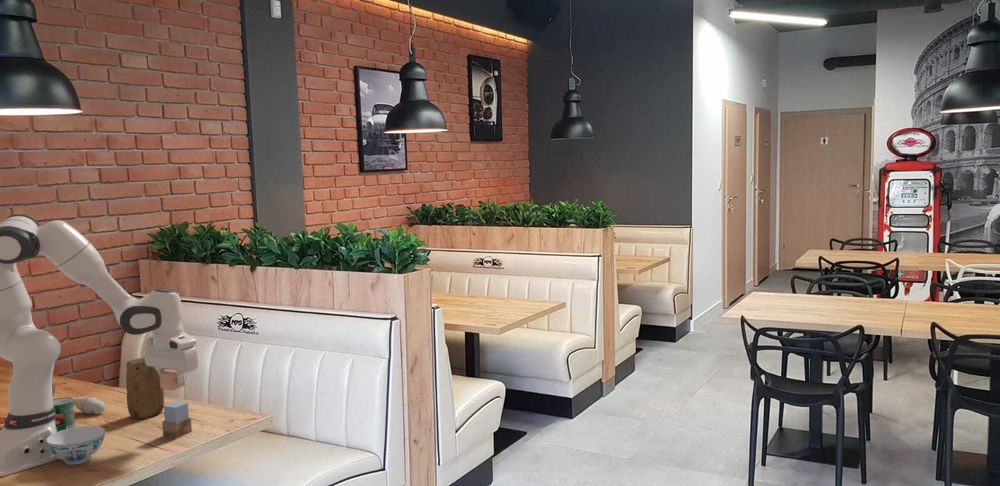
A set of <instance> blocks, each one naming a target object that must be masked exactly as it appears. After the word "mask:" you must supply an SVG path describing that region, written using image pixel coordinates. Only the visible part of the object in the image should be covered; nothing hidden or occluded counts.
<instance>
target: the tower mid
mask: <svg viewBox="0 0 1000 486" xmlns="http://www.w3.org/2000/svg"><path fill="white" fill-rule="evenodd" d="M189 413H190V412H189V402H188V403H187V402H183V401H178V400H177V401H176V400H175V401H173V402H170V403H168V404H164V407H163V414H164V421H167V422H172V423H178V422H181V421H183V420H186V419H188V418H190V415H189Z"/></svg>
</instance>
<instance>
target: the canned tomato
mask: <svg viewBox="0 0 1000 486" xmlns="http://www.w3.org/2000/svg"><path fill="white" fill-rule="evenodd" d="M53 405H54V406H55V412H56V421H55V425H56V430H57V432H59V431H62V430H65V429H69V428H74V427H76V421H75V406H74V404H73V397H65V396H64V397H63V396H62V397H57V398H53Z"/></svg>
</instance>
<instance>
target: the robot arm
mask: <svg viewBox="0 0 1000 486" xmlns="http://www.w3.org/2000/svg"><path fill="white" fill-rule="evenodd" d="M38 255H41V256H44V258H45V257H46V259H48V260H49V261H50V262H51V263H52V264H53V265H54V266H55V267H56V268H57V269H58V270H59V271H60V272H61V273H62V274H64V275H65V276H66V277H67V278H69V279H70V280H72V281H73V282H74V283H77V284H82V285H84V286H87V287H88V288H90V289H92V290H93V291H94V292H95V294H97V295H98V296H99V297H100V298H101V299H102V300H103V301H104V302H105V303H106V304H107V305H108V306H109V308H110V309H111V311H112V313H113V314H112V315H113V318H114V320H115V322H116V323H117V324H118V325H119V326H120V328H121V329H122V331H124V332H125V333H127V334H129V335H132V336H133V335H134V336H139V335H144V334H146V333H150V332H152V336H150V337H148V338H147V339H146V340H145V346H144V357H145V364H146V365H147V366H150V367H155V368H156V369H157V370H158V372H159V373H161V372H164V371H166V370H176V371H177V374H178V376H177V378H175V381H176V382H175V383H176V384H182V383H183V377H184V378H185V375H186V373H190V372H194V371H196V370H197V368H198V367H199V361H198V360H199V359H198V351H197V348H196V347H195V346H196V345H197V340H196V338H194V337H193V336H191V335H190V334H188V333H186V332H185V331H184V326H183V322H182V321H183V308H182V301H181V297H180V294H179V293H178V292H177V291H175V290H173V289H170V288H154V289H152V291H151V292H149V293H148V294H147V295H145V296H143V297H142V298H139V297H137V296H135V295H132V294H130V293H128V292H127V291H126V290H125V289H124V288H123V287H122V286H121V285H120V284H119V283H118V282H117V281H116V280H115V278H113V277H112V276H111V274H110V273H109V272H108V270H107V267H106V264H105V261H104V259H103V258H102V256H101V254H100V253H99V251H98V250H97V249H96V248H95V246H94V245H93V244H92V243H91V242H90V241H89V240H88V239H87V238H86V237H85V236H84V235H83V234H82V233H81V232H79V231H78V230H77V228H74V227H73V226H71V225H70V224H69V223H67V222H66V221H63V220H60V219H57V220H51V221H48V222H46V223H45V224H43V225H40V223H39V222H38V221H37V220H36V219H35V218H33V217H32V216H30V215H27V214H20V213H19V214H13V215H10V216H8V217H6V218H4V219H3V220H1V222H0V357H1V358H2V359H3V360H5V361H8V362H11V363H12V375H11V380H10V382H9V384H8V386H7V398H8V399H7V400H8V411H9V412H8V413H7V416H6V417H4V416H1V415H0V425H3V424H4V425H3V428H2V429H0V477H6V476H8V475H9V476H10V475H12V474H15V473H19V472H21V471H24V470H29V469H32V468H34V467H38V466H41V465H45V464H48V463H52V462H54V461H57V460H59V458H57V457H56V456H55V455H54V454H53V453H52V452H51V451H50V449H49V447H48V445H47V442H46V439H47V438H48V437H49V436H50V435H52V434H54V433H56V432H57V430H56V425H55V421H56V412H55V406H54V405H53V399H54V396H52V379H53V374H54V368H55V363H56V361H57V360H58V358H59V357H60V354H61V349H62V347H61V343H60V341H59V340H58V339H57V337H55V336H54V335H53V334H52V333H50V332H49V331H46V330H43V329H40V328H37V327H36V326H35V324H34V322H33V317H32V316H33V315H32V307H33V302H32V299H31V298H30V295H29V293H28V291H27V289H26V286H25V284H24V282H23V280H22V276H21V274H20V273H19V270H18V267H17V263H20V262H23V261H26V260H29V259H32V258H35V257H37V256H38Z"/></svg>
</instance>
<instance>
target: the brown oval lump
mask: <svg viewBox="0 0 1000 486" xmlns="http://www.w3.org/2000/svg"><path fill="white" fill-rule="evenodd" d="M125 366H126V373H125V374H126V375H125V377H126V380H125V381H126V385H125V386H126V405H127V412H128V414H129V415H130V417H131V418H132V419H134V420H142V419H144V420H145V419H147V418H148V419H149V418H152V417H155V416H157V415H160V414H161V413H162V412H163V411H164V406H165V394H164V393H165V392H164V390H165V389H161V387H160V375H159V372H158V369H157V367H150V366H147V365H146V364H145V356H144V357H141V358H140V357H139V358H136V359H135V358H134V359H131V360H128V361H126V365H125Z"/></svg>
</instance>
